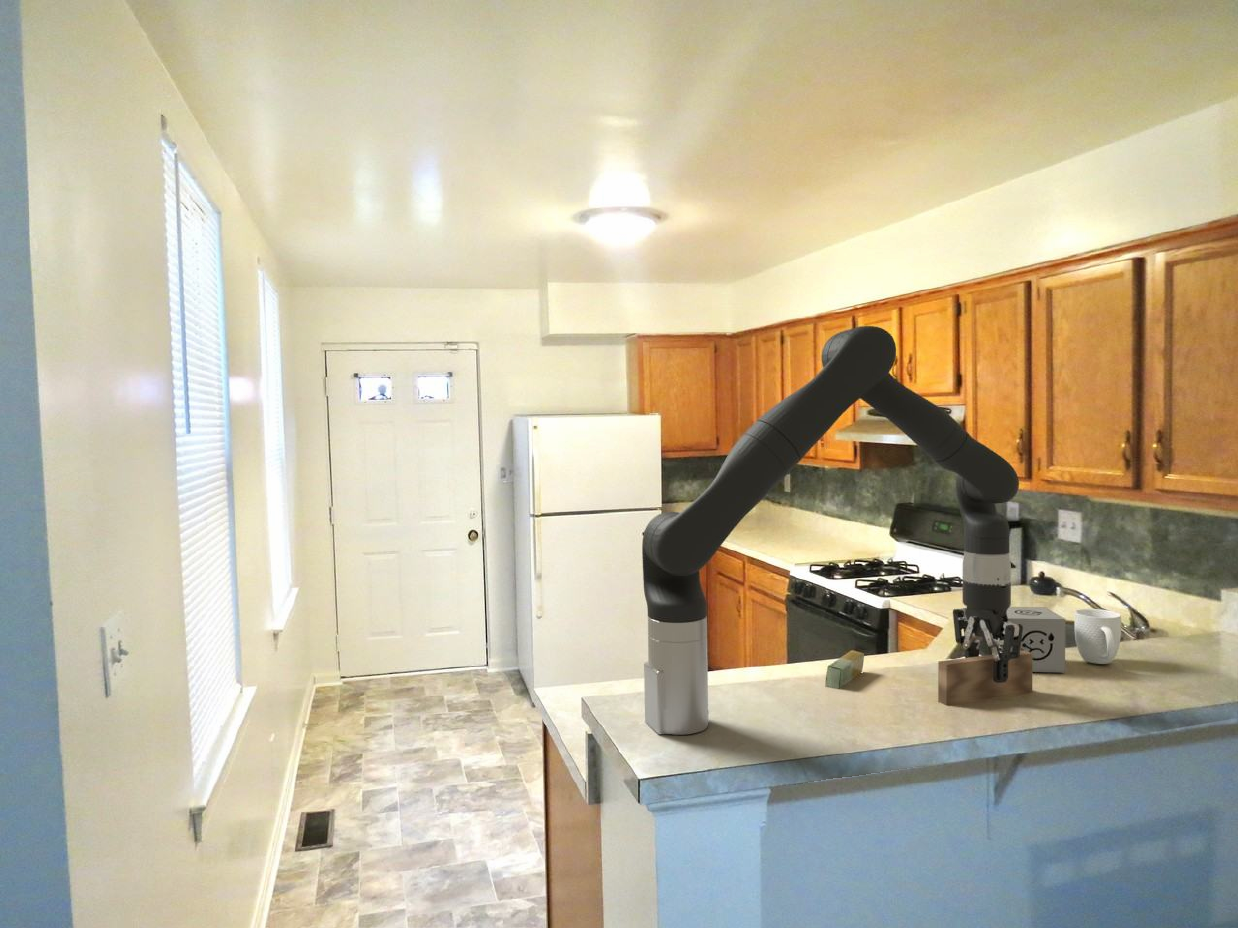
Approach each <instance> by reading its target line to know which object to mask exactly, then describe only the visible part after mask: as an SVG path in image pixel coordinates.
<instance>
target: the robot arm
mask: <svg viewBox="0 0 1238 928" xmlns="http://www.w3.org/2000/svg"><path fill="white" fill-rule="evenodd" d="M820 357H821V358H820V359H821V365H822V369H821V370H820V371H819V372H818V373H817V374H816V376H814V377H813V378H812V379H811V380H810V381H808V382H807V383H806V384H805V385H803V386H802V387H800V388H799V389H796V391H795V392H793V393H791V394H790V395H788V396H787V397H785V398H784V399H782V400H781V401H779V402H778V403H777V404H775V405H774V406H771V407H772V408H770V409H768V410H767V411H766V412H765V413H764V414H763V415H761V416H760V417H759V418H758V419H757V420H756V421H755V422H754V423H753V424H752V425H751V426H750V427H749V428H748V429H747V431H745V432H744V433H743V434H742V435H741V437H740V438H739V439H738V440H737V441H736V443H734V445H733V446H732V448H731V450H730V451H729V453H728V455H727V456H726V458H725V459H724V461H723V463H722V465H721V467H720V469H719V471H718V472H717V474H716V476H715V478H714V479H713V481H712V482H711V483H710V484H709V486H708V487H707V488H706V489H705V490H704V491H703V492H702V493H701V494H700V495H699V496H698V497H697V498H696V499H695V500H694V501H692V502H691V504H689V505H688V506H687V507H686V508H685V509H683V510H682V511H681V512H678V511H667V512H661V513H659V514H657V515H656V516H654V517H653V518H652V519H651V520H650V521H649V522H648V524H647V525H646V527H645V529H644V532H643V535H642V542H641V543H642V546H641V547H642V548H641V551H642V552H641V554H642V555H641V556H642V574H643V575H642V576H643V578H642V579H643V591H644V598H645V601H646V607H647V643H648V644H647V649H648V650H647V651H648V652H647V654H648V661H647V662H644V663H643V671H644V674H643V676H644V683H643V684H644V686H643V687H644V722H645V723H646V724H647V725H648V726H649V727H650V728H651V729H653V731H654V732H655V733H656V734H657V735H665V734H666V735H677V736H678V735H680V736H684V735H692V734H696V733H700V732H702V731H704V730H706V729H707V728H708V727H709V675H708V674H709V673H708V672H709V670H708V666H709V665H708V606H707V605H708V604H707V603H708V602H707V599H706V596H705V593H704V591H703V588H702V585H701V580H700V570H702V569H703V568H704V567H705V566H706V565H708V563H709V562H710V561H711V559H712V558H713V557H714V555H715V554H716V553H717V551H718V550H719V549H720V547H721V546H722V545H723V543H724V542H725V541H726V540H727V538H728V537H729V536H730V535H731V533H732V532H733V531H734V529H735V528H736V527H737V526H738V525H739V523H740V522H741V521H742V520H743V519H744V517H746V516H747V515H748V514H749V513H750V512H751V511H752V510H753V509H754V508H755V507H756V506H757V505H758V504H759V503H760V502H761V501H762V500H763V499H764V498H765V497H766V496H767V495H769V493H770V492H771V491H772V490H773V489H774V488H775V487H776V486H777V485H778V484H779V483H780V482H781V481H782V480H783V479H784V478H785V477H786V476H787V475H788V474H789V473H790V472H791V471H792V470H793V469H794V468H795V467H796V466H797V464H799V462H801V460H802V459H803V458H804V457H805V456H806V455H807V454H808V452H809V451H810V450H811V449H812V448H813V447H814V446H815V445H816V444H817V443H818V441H820V440H821V439H822V437H823V436H824V435H825V434H826V433H827V432H828V431H829V429H831V428H832V426H833V425H834V424H835V423H836V422H837V421H838V420H839V418H841V416H842V415H843V414H844V413H845V412H846V411H847V410H848V409H850V408H851V406H853V405H854V404H855V403H856V402H857V401H859V400H860V399H861V400H862V401H863V402H864V403H866V404H867V405H869V407H871V408H873V409H874V410H876V412H878V413H879V414H881V415H882V416H883V417H884V418H886V419H887V420H888V421H889V422H891V423H892V424H893V425H894V426H896V428H898V429H899V430H900V431H901V432H902V433H904V434H905V435H906V436H907V437H908V438H909V439H910V440H911V441H912V442H913V443H914V444H915V445H916V446H917V447H918V448H920V449H921V450H922V452H924V453H925V454H926V455H927V456H928V457H929V458H930V459H931V460H932V461H933V462H935V463H936V464H937V465H938V466H939V467H941V468H942V469H944V470H946V471H950V472H953V473H955V474H957V475H956V478H955V492H956V499H957V503H958V506H959V512H960V515H961V519H962V522H963V525H964V527H963V528H964V529H963V530H964V534H963V535H964V536H963V538H964V539H963V542H964V543H963V559H962V604H963V605H964V606H965V607H962V608H954V609H952V618H953V627H954V629H953V630H954V637H955V643H956V644H960V645H961V646H962V648H963V650H964V658H970V657H977V656H980V650H979V647H980V644H981V643H982V640H983V639H984V640H985V641H986V644H987V647H989V648H990V649H991V653H992V652H993V656H994V659H995V660H993V680H994V682H997V683H1002V682H1006V681H1007V679H1008V662H1009V660H1010V659H1018V658H1019V655H1020V647H1021V639H1022V632H1023V626H1022V625H1021V624H1013V623H1011V622H1009V620H1008V617H1007V609H1008V608H1009V607H1012V606H1011V605H1012V566H1011V557H1010V555H1011V554H1010V524H1009V522H1008V521H1007V519H1005V518H1003V517H1002V516H1001V515H999V513H998V511H997V507H996V504H998V505H999V504H1004V503H1007V502H1009V501H1011V500H1012V499H1014V497H1015V496H1016V495H1017V493H1018V491H1019V487H1020V481H1019V476H1018V474H1017V471H1016V470H1015V469H1014V467H1013V466H1012V465H1011V464H1010V463H1009V462H1008V461H1007V460H1006V459H1004V457H1003V456H1001V455H999V454H998V453H997V452H996V451H994V450H992V449H990V448H989V447H987V445H984V444H983V443H981V442H979V441H977V440H976V439H974V438H973V436H971V434H970V433H969V432H968V431H967V430H965V429H964V428H963V426H961V425H960V424H959V423H958V422H957V421H956V420H955V419H954V418H953V417H952V416H951V415H950V414H949V413H947V412H946V411H945V410H944V409H942V408H941V407H939V406H938V405H937V404H935V403H934V402H932V401H930V400H929V399H926V397H923V396H922V395H920V394H918V393H917V392H915V391H913V390H911V388H908V387H907V386H905V385H904V383H903V384H902V383H901V382H900V381H899V380H898V379H897V378H895V377H894V376H893V375H892V374H891V373H890V372H891V370H892V368H893V367H894V364H895V361H896V357H897V345H896V342H895V340H894V337H893V336H892V334H891V333H890V332H888V330H886V329H884V328H882V327H878V326H873V325H863V326H862V325H860V326H856V327H854V328H851V329H846V330H843V331H840V332H837V333H835V334H833V335H832V336H831V337H829V339H828V340H826V342H825V343H824V344H823V348H822V350H821V356H820ZM962 630H963V633H962ZM999 637H1000V641H995V640H994V639H998V638H999ZM998 646H1000V647H1001V650H1002V653H1000V651H999V647H998ZM1011 647H1012V651H1011ZM1010 651H1011V652H1010Z"/></svg>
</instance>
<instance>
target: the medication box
mask: <svg viewBox="0 0 1238 928" xmlns="http://www.w3.org/2000/svg"><path fill="white" fill-rule="evenodd" d="M864 660H865V653H862V652H860V651H856V650H850V651H848V652H847V653H845V654H844V655H842V656H841V657H840V658H838V659H836V660H835V661H834V662H832V663H831V664H829V665H828V666H827V669H826V673H825V674H826V677H825V685H824V687H825V688H828V689H829V688H830V689H836V690H839V689H841V688H842V687H843V686H845V685H847V684H848V683H849V682H851V681H852V680H853V679H855V678H856V677H858V676H859V675H861V674H862V673H863V667H864Z"/></svg>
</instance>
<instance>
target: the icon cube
mask: <svg viewBox="0 0 1238 928" xmlns="http://www.w3.org/2000/svg"><path fill="white" fill-rule="evenodd" d="M1007 617H1008V620H1009V622H1011V623H1013V624H1021V625H1022V626H1023V632H1022V639H1021V647H1020V651H1023V650H1024V651H1027V652H1030V653H1033V669H1032V673H1033V672H1034V673H1066V618H1064V617H1063V616H1061V615H1059V614H1057V613H1056V612H1055V611H1053V610H1052V609H1050V608H1048V607H1047V606H1046V607H1045V606H1039V607H1038V606H1010V607H1009V608H1008V609H1007ZM994 640H995V641H1000V637H999V638H998V639H994ZM998 647H999V651H1000V653H1002V650H1001V647H1000V646H998ZM1011 651H1012V647H1011ZM1011 651H1010V652H1011ZM991 653H992V654H991V655H993V652H992V651H991Z"/></svg>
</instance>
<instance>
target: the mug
mask: <svg viewBox="0 0 1238 928" xmlns="http://www.w3.org/2000/svg"><path fill="white" fill-rule="evenodd" d="M1073 625H1074V639H1075V643H1076V648H1077V650H1078V653H1079V655H1080V657H1081V658H1082V660H1083V661H1085V662H1087V663H1091V664H1098V665H1107V664H1111V663H1112V662H1113V661H1114V659H1115V658H1116V657H1117V655H1118V651H1119V649H1120V645H1121V644H1120V643H1121V637H1122V636H1121V635H1122V615H1121V614H1120V613H1118V612H1117V611H1116V612H1115V611H1111V610H1107V609H1098V608H1096V609H1095V608H1079V609H1076V610H1075V611H1074V624H1073Z"/></svg>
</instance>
